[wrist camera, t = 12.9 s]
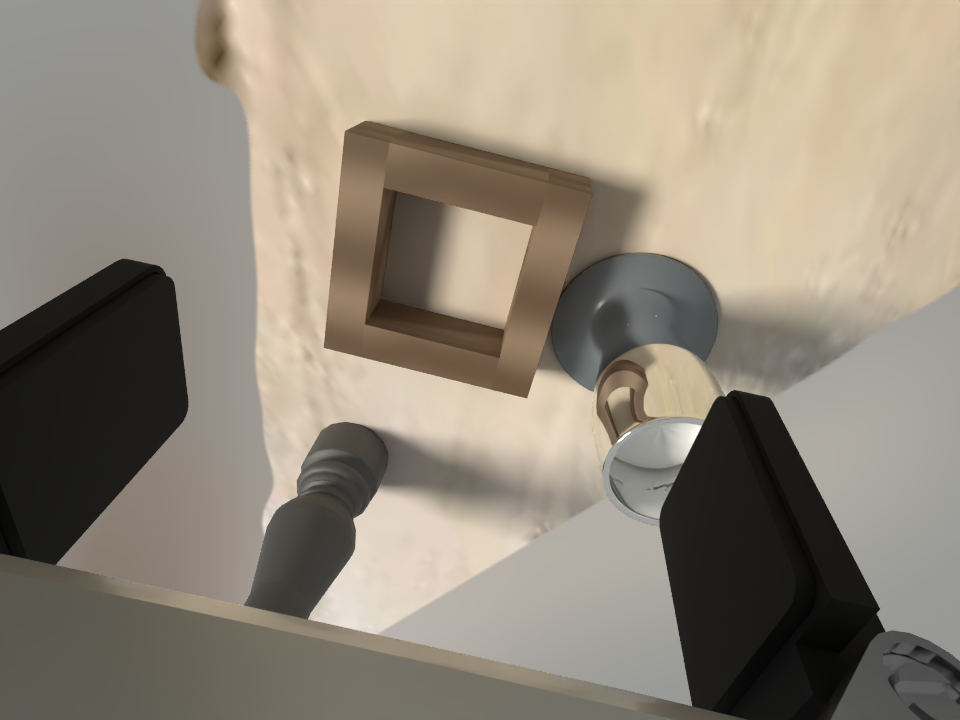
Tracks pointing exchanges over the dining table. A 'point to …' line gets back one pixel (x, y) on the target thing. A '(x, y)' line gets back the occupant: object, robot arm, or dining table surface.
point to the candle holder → (318, 521)
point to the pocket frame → (464, 183)
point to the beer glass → (645, 399)
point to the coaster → (623, 276)
